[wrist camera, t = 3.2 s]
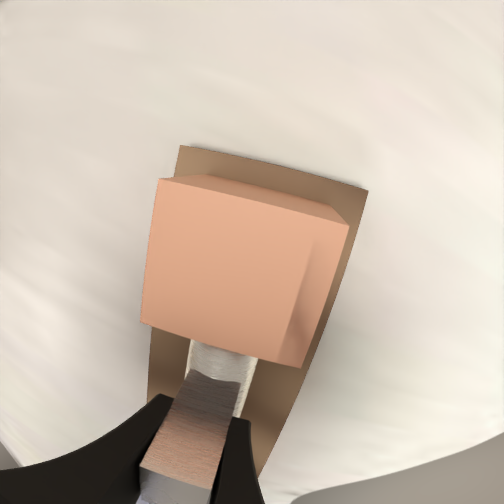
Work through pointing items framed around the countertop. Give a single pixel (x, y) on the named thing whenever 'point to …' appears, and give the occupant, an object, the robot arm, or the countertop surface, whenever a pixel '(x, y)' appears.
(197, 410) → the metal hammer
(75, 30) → the countertop surface
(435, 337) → the countertop surface
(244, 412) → the walnut board
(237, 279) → the socket
